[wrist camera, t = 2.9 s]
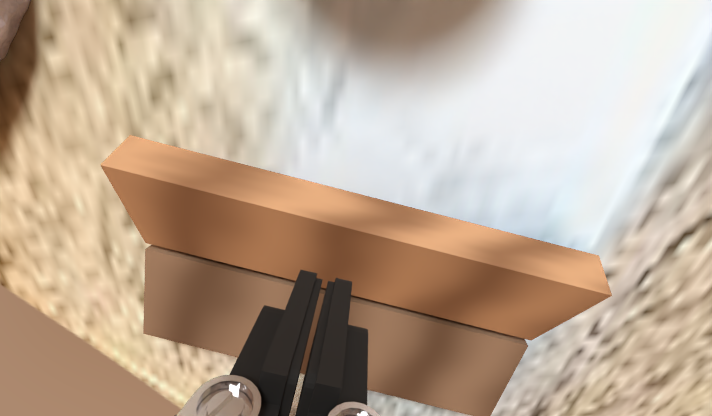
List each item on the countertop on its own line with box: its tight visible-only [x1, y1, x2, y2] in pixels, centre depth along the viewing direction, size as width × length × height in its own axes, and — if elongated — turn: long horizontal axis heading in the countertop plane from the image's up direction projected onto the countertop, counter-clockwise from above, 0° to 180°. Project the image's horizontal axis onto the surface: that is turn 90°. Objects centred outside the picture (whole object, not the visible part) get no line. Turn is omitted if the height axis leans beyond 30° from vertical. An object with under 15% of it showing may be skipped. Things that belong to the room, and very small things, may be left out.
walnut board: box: [144, 245, 528, 416], centre depth 21 cm, size 22×6×2 cm, turn 76°
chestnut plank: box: [101, 135, 612, 340], centre depth 17 cm, size 22×6×2 cm, turn 76°
